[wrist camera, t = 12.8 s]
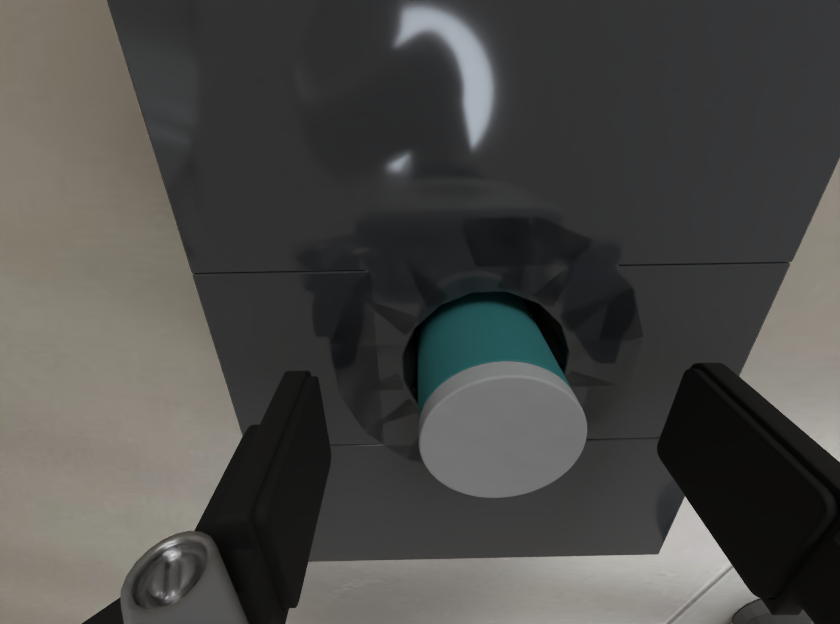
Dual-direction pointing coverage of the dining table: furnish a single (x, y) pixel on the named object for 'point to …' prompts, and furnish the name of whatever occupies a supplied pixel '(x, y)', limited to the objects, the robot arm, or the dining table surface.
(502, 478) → the stopper
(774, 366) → the dining table surface
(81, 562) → the dining table surface
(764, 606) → the beverage cup
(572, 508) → the dark box with hole
